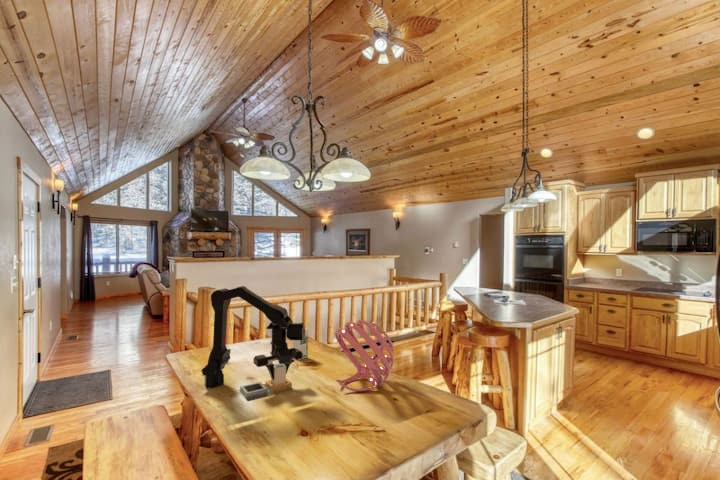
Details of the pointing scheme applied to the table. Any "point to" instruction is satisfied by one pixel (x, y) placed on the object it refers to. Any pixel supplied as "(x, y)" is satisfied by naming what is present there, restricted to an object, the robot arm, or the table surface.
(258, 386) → the panel
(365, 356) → the slotted curved sculpture
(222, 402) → the table surface
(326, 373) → the table surface
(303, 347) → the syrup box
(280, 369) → the plug
